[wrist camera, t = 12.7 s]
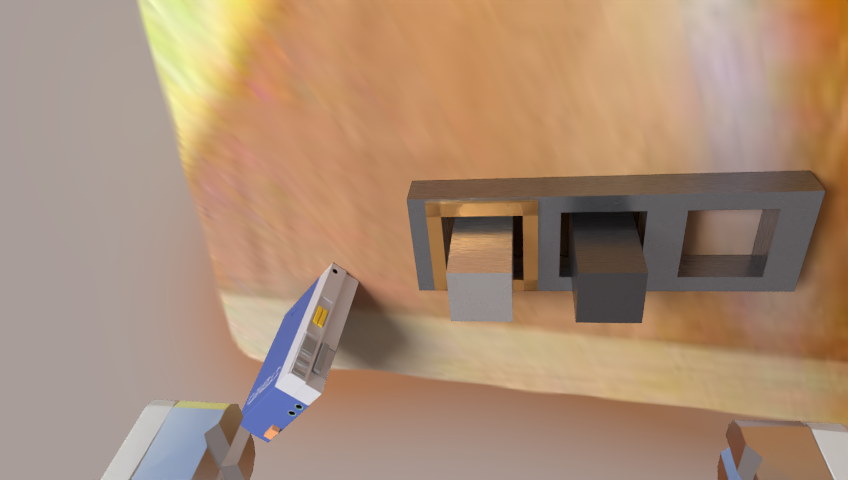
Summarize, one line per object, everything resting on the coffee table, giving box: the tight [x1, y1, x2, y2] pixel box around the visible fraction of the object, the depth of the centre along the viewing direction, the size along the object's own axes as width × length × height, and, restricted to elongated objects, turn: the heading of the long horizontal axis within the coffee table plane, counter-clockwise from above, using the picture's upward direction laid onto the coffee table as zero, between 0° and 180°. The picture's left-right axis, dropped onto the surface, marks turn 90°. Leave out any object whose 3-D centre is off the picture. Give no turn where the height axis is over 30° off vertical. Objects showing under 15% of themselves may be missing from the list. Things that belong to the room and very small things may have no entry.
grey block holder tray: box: [407, 171, 825, 291], centre depth 43 cm, size 26×8×3 cm, turn 96°
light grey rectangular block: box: [446, 216, 514, 322], centre depth 42 cm, size 4×4×8 cm
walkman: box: [240, 263, 359, 442], centre depth 47 cm, size 8×3×12 cm, turn 143°
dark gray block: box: [568, 211, 648, 323], centre depth 41 cm, size 4×4×8 cm
